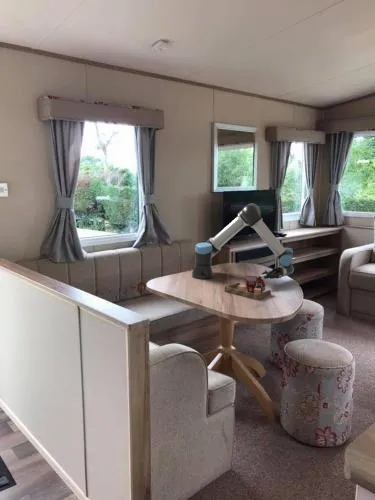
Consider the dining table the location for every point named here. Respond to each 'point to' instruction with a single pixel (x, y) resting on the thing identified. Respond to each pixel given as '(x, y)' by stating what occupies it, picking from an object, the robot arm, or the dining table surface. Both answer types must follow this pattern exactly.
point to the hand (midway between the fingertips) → (260, 277)
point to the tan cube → (257, 290)
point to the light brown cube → (242, 287)
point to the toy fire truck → (254, 283)
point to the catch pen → (246, 294)
